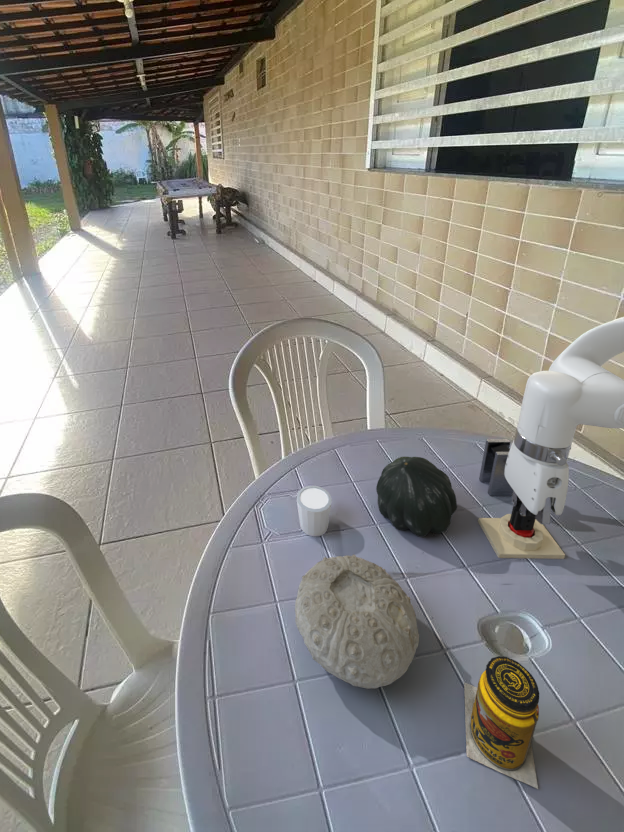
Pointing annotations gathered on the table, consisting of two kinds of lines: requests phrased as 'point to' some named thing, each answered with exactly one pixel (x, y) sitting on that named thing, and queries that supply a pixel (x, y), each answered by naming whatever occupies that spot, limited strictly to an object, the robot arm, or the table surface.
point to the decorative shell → (356, 621)
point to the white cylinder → (314, 510)
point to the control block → (519, 540)
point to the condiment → (503, 719)
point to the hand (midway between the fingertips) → (520, 526)
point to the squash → (416, 496)
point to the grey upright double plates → (495, 468)
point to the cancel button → (522, 532)
